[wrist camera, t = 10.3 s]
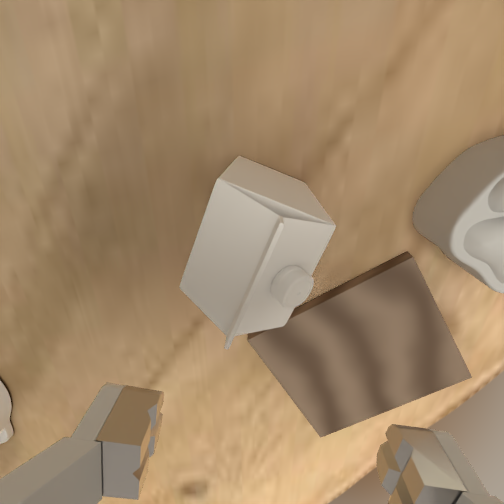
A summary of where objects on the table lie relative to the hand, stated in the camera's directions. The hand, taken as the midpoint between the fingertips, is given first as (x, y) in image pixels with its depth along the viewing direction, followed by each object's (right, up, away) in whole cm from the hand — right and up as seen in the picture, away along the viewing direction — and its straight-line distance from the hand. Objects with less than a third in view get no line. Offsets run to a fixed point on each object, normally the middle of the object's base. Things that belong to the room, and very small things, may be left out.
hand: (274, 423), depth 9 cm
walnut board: (+12, -7, +30) cm, 33 cm away
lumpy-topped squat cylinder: (+22, +10, +23) cm, 34 cm away
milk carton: (0, +10, +24) cm, 26 cm away
